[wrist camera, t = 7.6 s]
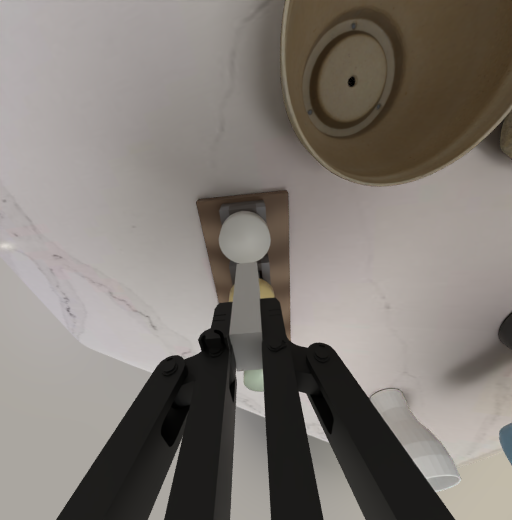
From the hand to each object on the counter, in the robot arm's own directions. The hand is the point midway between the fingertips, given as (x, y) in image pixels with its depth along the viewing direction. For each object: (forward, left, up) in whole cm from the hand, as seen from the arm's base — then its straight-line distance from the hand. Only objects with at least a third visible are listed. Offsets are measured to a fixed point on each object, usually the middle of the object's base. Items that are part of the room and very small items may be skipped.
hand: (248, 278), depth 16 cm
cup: (-10, +55, -14) cm, 57 cm away
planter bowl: (-15, -8, -14) cm, 22 cm away
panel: (+4, +10, -14) cm, 17 cm away
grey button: (0, 0, -12) cm, 12 cm away
